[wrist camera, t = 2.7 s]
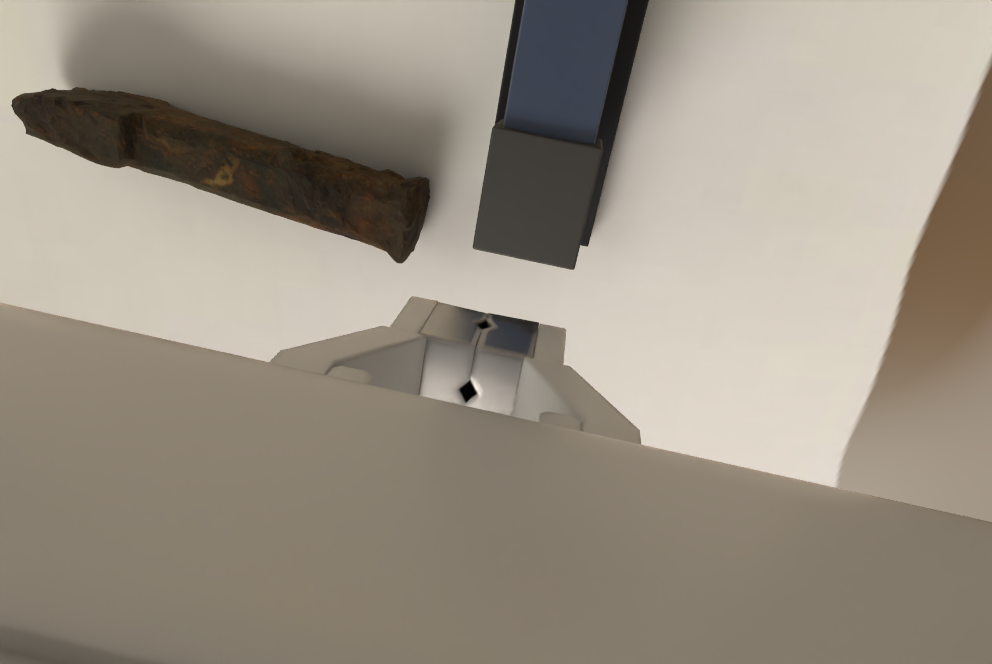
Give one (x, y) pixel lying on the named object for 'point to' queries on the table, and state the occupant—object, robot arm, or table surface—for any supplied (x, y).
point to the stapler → (613, 96)
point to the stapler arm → (549, 132)
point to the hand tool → (232, 164)
